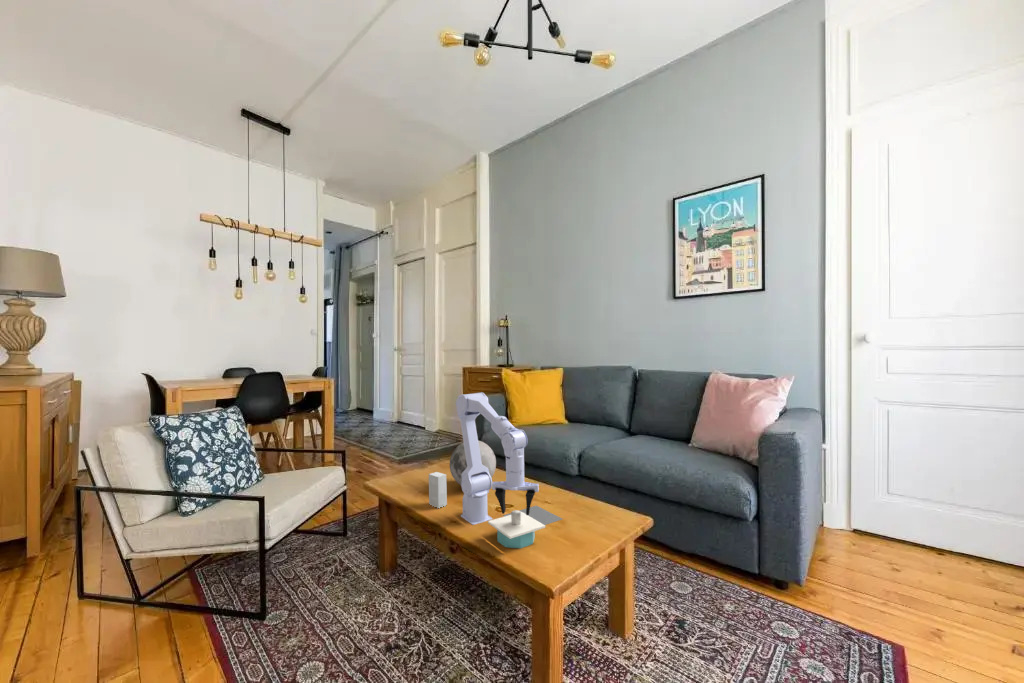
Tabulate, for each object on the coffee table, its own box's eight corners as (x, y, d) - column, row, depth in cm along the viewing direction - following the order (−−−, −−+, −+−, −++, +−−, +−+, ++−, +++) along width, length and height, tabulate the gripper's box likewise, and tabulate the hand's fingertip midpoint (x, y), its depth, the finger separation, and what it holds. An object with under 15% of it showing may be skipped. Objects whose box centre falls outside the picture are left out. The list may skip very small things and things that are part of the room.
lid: (488, 523, 131) (487, 510, 131) (521, 513, 138) (521, 501, 138) (510, 538, 120) (509, 524, 120) (545, 527, 127) (545, 514, 127)
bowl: (492, 538, 130) (491, 524, 130) (520, 529, 137) (520, 515, 137) (511, 552, 121) (511, 537, 121) (541, 542, 127) (540, 527, 127)
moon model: (486, 476, 192) (485, 433, 192) (503, 490, 173) (503, 442, 174) (444, 483, 183) (443, 438, 183) (458, 498, 165) (457, 448, 165)
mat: (503, 516, 147) (503, 515, 147) (536, 506, 155) (536, 505, 155) (528, 531, 135) (528, 530, 135) (562, 520, 143) (562, 518, 143)
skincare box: (447, 505, 158) (446, 474, 158) (438, 509, 155) (437, 477, 155) (437, 501, 162) (436, 471, 162) (428, 505, 159) (428, 474, 159)
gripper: (489, 472, 126) (490, 517, 126) (536, 474, 124) (537, 520, 124) (494, 465, 133) (495, 507, 133) (539, 467, 131) (539, 510, 131)
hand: (515, 513), depth 129 cm, fingers open, 7 cm apart
